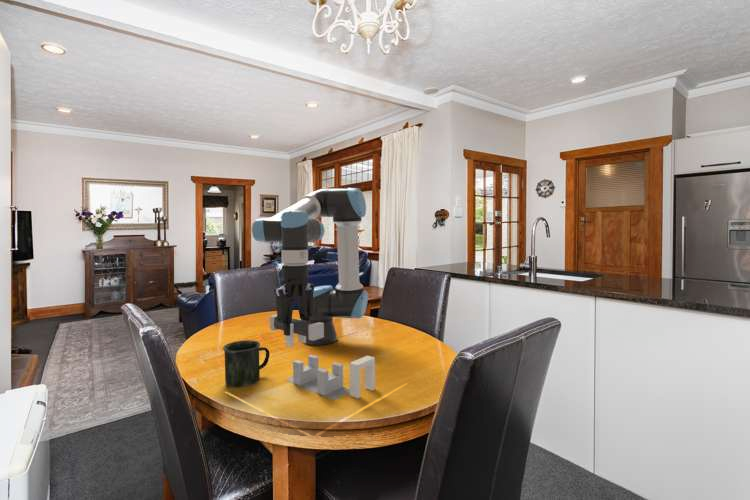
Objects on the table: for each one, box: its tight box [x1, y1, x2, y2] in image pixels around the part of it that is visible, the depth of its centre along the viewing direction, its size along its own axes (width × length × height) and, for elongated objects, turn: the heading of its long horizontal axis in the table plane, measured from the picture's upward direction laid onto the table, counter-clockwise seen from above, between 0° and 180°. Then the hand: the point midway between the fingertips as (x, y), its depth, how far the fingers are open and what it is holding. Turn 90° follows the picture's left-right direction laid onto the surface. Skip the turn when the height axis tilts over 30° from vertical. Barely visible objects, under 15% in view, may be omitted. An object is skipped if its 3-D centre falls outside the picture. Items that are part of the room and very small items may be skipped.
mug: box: [222, 339, 270, 388], centre depth 124 cm, size 11×15×12 cm
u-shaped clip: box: [349, 355, 376, 399], centre depth 115 cm, size 3×8×10 cm, turn 141°
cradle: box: [285, 354, 350, 401], centre depth 120 cm, size 22×8×8 cm, turn 51°
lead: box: [269, 314, 324, 341], centre depth 113 cm, size 19×4×4 cm, turn 52°
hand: (295, 343), depth 113 cm, fingers closed on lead, 4 cm apart
